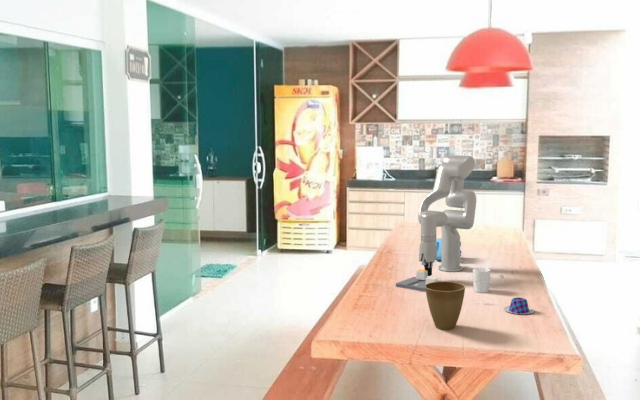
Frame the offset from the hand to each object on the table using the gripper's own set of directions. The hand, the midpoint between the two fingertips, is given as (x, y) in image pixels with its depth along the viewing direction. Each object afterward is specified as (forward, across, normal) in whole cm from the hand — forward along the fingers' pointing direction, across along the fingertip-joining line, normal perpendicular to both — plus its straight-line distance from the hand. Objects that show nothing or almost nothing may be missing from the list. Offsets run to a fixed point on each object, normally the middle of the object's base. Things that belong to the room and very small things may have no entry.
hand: (428, 275), depth 311 cm
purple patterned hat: (+3, +21, +55) cm, 59 cm away
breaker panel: (+3, +11, +6) cm, 13 cm away
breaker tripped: (+1, +6, 0) cm, 6 cm away
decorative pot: (+3, -47, -16) cm, 50 cm away
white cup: (+3, +2, +29) cm, 29 cm away
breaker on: (+1, +16, +11) cm, 19 cm away
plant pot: (+3, +58, +41) cm, 71 cm away
